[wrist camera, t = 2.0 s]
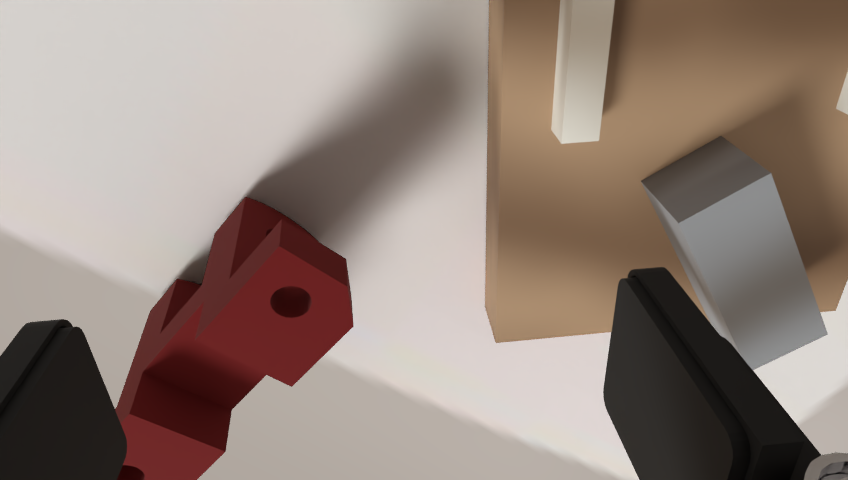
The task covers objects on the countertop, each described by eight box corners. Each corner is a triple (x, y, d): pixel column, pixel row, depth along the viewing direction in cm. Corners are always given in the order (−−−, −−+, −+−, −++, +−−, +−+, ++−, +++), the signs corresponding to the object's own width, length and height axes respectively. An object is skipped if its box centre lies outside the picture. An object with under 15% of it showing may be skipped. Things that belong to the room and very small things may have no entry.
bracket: (376, 303, 15) (160, 515, 18) (362, 191, 20) (192, 376, 23) (278, 246, 14) (65, 485, 17) (289, 140, 18) (119, 344, 22)
